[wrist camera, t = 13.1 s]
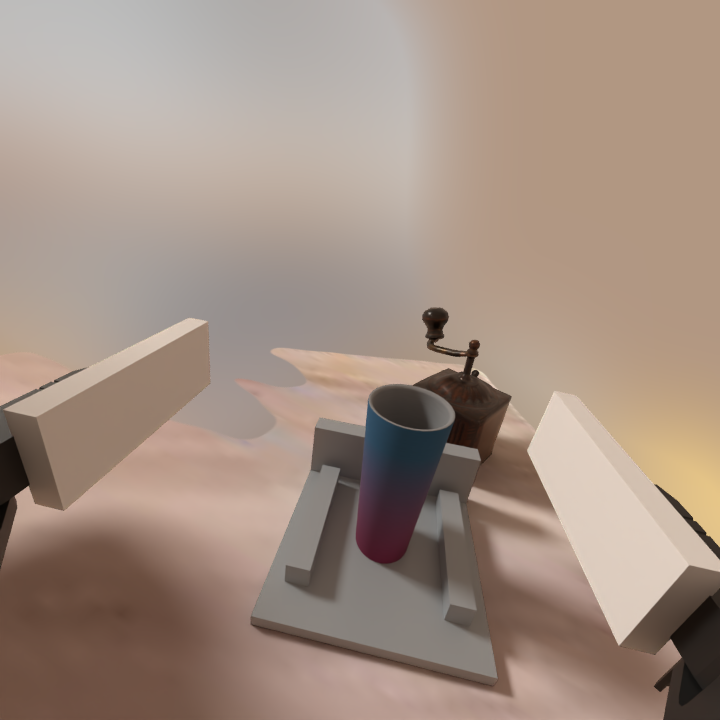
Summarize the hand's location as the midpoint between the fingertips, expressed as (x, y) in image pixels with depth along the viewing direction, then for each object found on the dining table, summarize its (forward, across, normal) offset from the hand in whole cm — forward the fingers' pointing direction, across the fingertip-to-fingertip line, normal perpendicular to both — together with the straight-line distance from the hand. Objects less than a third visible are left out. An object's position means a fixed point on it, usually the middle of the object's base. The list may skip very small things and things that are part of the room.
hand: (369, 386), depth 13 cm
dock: (+12, +4, -23) cm, 26 cm away
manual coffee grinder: (+31, +10, -24) cm, 41 cm away
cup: (+12, +4, -23) cm, 26 cm away
